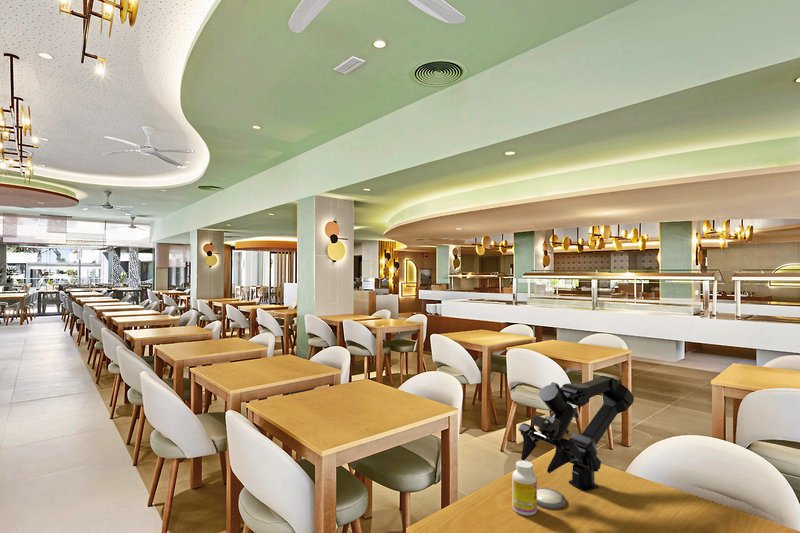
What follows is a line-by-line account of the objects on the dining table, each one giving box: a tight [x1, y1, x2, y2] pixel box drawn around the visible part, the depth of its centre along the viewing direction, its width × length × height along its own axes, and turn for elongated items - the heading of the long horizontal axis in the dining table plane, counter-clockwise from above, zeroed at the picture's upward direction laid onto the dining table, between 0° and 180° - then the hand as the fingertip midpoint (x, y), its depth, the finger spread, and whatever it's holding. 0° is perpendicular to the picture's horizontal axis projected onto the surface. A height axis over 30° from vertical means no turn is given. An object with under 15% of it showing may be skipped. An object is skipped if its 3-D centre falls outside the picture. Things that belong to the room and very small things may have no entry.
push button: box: [537, 487, 567, 510], centre depth 122 cm, size 10×10×1 cm
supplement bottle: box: [511, 459, 538, 517], centre depth 117 cm, size 7×7×13 cm
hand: (534, 465), depth 119 cm, fingers open, 9 cm apart
